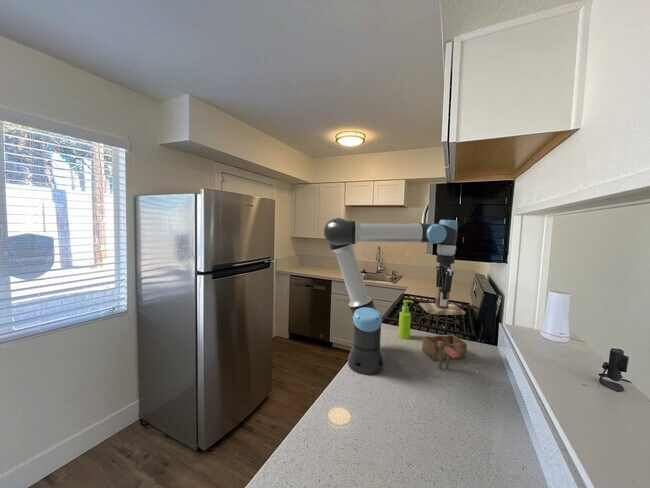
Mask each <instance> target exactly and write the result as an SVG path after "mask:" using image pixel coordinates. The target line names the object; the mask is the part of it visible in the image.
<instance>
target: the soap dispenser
mask: <svg viewBox="0 0 650 488" xmlns="http://www.w3.org/2000/svg"><path fill="white" fill-rule="evenodd" d="M402 303H403V305H402V307H401V311H399V316H398V317H399V318H398V332H397V333H398V334H397V336H398V338H399V339H401V340H409V339H410V337H411V321H412V320H411V317H412V313H411V312H409V311H410V310H409V309H410V307H409V306H408V303H411V304H414V303H415V302H414V301H413V300H410V299H403V300H402Z"/></svg>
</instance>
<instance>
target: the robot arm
mask: <svg viewBox="0 0 650 488" xmlns="http://www.w3.org/2000/svg"><path fill="white" fill-rule="evenodd" d="M323 236H324V239H325V240H326V241H327V242H328V246H329V248H330V251H332V252H333V253H334V254H335V256H336V259H337V262H338V265H339V269H340V273H341V274H342V277H343V282H344V284H345V288H346V292H347V294H348V297H349V302H348V308H349V310H350V313H351V317H352V326H353V327H352V347H351V349H350V351H349V355H348V357H347V366H348V367H349V368H350V369H351V370H352V371H354V372H356V373H359V374H363V375H376V374H379V373H381V372H382V371H383V370H384V364H385V363H384V357H383V354H382V352H381V335H382V333H381V332H382V331H381V330H382V324H383V323H382V322H383V321H382V319H383V318H382V314H381V313H380V311H379V310H377V308H376V305H375V303H374V300H373V296H370V295H369V294H368V291H367V288H366V284H365V282H364V279H363V275H362V273H361V269H360V267H359V266H360V265H359V263H358V260H357V256H356V254H355V251H354V245H357V243H361V242H362V243H364V242H366V243H429V244H430V243H431V244H436V245H437V246H436V253H437V254H436V263H439V264H438V265H436V267H435V268H436V280H435V281H436V283H435V287H442V291H440V292H441V297H440V306H446V305H447V294H448V292H450V293H451V290H452V283H453V277H454V272H455V271H452V267H451V266H452V265H453V264H455V260H456V256H455V255H456V250H457V238H458V221H457V220H453V219H440V220H439V222H438V223H425V222H423V223H422V222H415V223H360V222H359V223H358V222H357V221H356V220H346V219H344V218H341V217H336V218H333V219H330V220H329V221H328V222H326V223H325V226H324V228H323Z"/></svg>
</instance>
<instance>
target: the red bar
mask: <svg viewBox="0 0 650 488" xmlns="http://www.w3.org/2000/svg"><path fill="white" fill-rule="evenodd" d="M440 343H442V341H437V345H438V346H439V347H440ZM443 350H444V351H445V352H446V353H447V354H449V355H450V356H451V357H452V358H455V357H457V354H458V353H457V352H456V351H454V350H453V349H452V348H450V347H449V346H448V345H443Z"/></svg>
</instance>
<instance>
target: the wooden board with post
mask: <svg viewBox="0 0 650 488" xmlns="http://www.w3.org/2000/svg"><path fill="white" fill-rule="evenodd" d="M435 287H436V286H435ZM440 291H442V287H436V291H435V302H434V303H433V302H419V306H420V308H422V309H423V311H425V313H427V314H429V315H441V316H442V315H444V316H445V315H447V316H449V315H450V316H461V315H466V311H465V310H464V309H462V308H461V307H459V306H458V305H457V304H455V303H450V302H449V301H450V293H451V291H450V292H448V294H447V305H446V306H440V297H441V292H440Z"/></svg>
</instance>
